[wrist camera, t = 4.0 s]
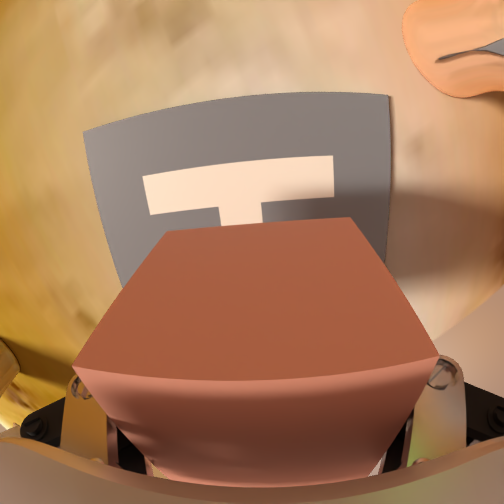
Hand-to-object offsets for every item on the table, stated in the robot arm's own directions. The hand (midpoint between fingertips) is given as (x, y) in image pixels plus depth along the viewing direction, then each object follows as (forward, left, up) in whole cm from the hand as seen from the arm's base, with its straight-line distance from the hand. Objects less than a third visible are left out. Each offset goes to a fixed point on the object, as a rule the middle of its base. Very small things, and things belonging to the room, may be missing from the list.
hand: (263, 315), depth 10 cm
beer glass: (-11, -11, -6) cm, 17 cm away
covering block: (0, 0, -1) cm, 1 cm away
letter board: (+1, 0, -6) cm, 6 cm away
